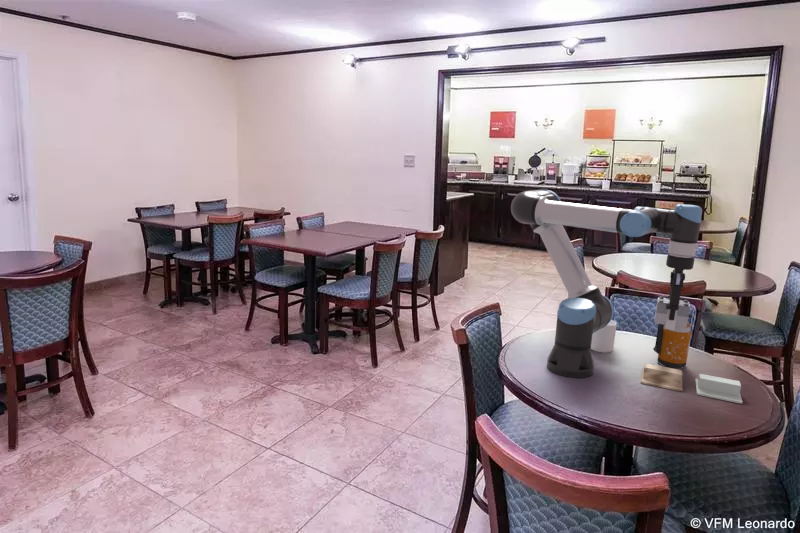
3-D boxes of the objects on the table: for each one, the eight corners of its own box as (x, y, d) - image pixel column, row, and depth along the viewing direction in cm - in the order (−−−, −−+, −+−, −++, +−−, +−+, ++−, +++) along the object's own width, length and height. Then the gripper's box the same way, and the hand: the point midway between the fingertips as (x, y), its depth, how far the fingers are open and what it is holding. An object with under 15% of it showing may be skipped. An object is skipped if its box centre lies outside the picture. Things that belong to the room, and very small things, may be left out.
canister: (688, 371, 183) (698, 315, 179) (654, 367, 185) (662, 312, 181) (681, 361, 192) (690, 307, 187) (648, 358, 194) (656, 304, 189)
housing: (654, 323, 170) (658, 300, 168) (654, 317, 176) (658, 295, 174) (686, 328, 166) (690, 305, 165) (685, 322, 172) (689, 300, 170)
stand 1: (640, 383, 173) (642, 371, 172) (642, 369, 183) (643, 358, 182) (682, 391, 168) (684, 379, 167) (681, 377, 178) (683, 366, 177)
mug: (622, 348, 203) (625, 321, 200) (605, 355, 195) (608, 326, 193) (601, 341, 209) (604, 314, 207) (584, 347, 202) (587, 320, 199)
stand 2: (696, 394, 166) (699, 382, 165) (695, 380, 176) (697, 368, 176) (742, 403, 161) (744, 391, 160) (737, 388, 171) (739, 376, 171)
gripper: (696, 262, 156) (683, 337, 161) (693, 251, 173) (681, 319, 178) (667, 259, 159) (656, 332, 164) (667, 248, 176) (657, 315, 181)
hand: (669, 325), depth 171 cm, fingers closed on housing, 6 cm apart
